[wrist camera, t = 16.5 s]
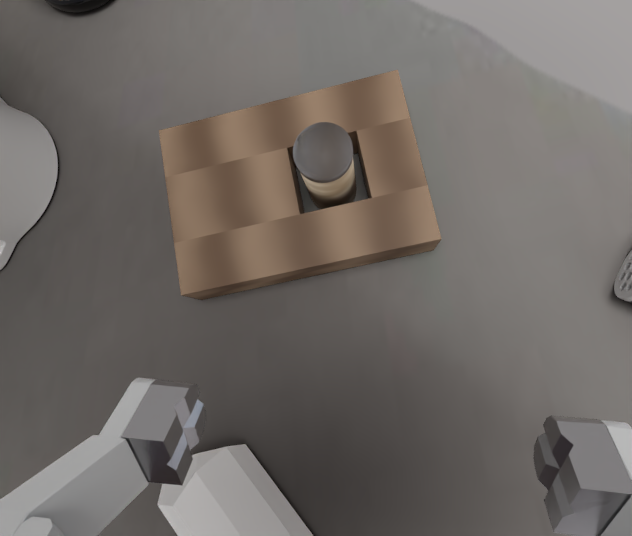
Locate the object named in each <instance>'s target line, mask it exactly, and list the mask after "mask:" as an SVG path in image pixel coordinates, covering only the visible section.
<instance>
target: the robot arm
mask: <svg viewBox="0 0 632 536" xmlns="http://www.w3.org/2000/svg"><path fill="white" fill-rule="evenodd" d="M57 173H58V159H57V153H56V148H55V145H54V142H53V140H52V138H51V136H50V134H49V132H48V131H47V129H46V128H45V127H44V126H43V125H42V124H41V123H40V122H39V121H38V120H37V119H36V118H34V117H33V116H31V115H29V114H27V113H25V112H22V111H20V110H17V109H15V108H13V107H10V106H8V105H7V104H6V103H5V101H4V100H3V99H2V98H1V97H0V270H1V269H2V268H3V267H4V266H5V264H6V263H7V261H8V260H9V258H10V256H11V254H12V252H13V250H14V247H15V245H16V243H17V242H18V241H19V239H20V238H21V237H22V236H23V235H24V234H25V233H26V232H27V231H28V230H29V229H30V228H31V227H32V226H33V225H34V224H35V223H36V222H37V220H38V219H39V218H40V217H41V215H42V214H43V212H44V211H45V209H46V207H47V205H48V204H49V202H50V199H51V197H52V194H53V192H54V188H55V185H56V180H57ZM199 394H200V391H199V388H198V385H197V384H192V383H183V382H175V381H166V380H158V379H148V378H136V379H135V380H134V381H133V382H131V384H130V385H129V387H128V388H127V390H126V392H125V393H124V395H123V397H122V398H121V400H120V401H119V403H118V405H117V406H116V408H115V410H114V411H113V413H112V414H111V416H110V418H109V419H108V421H107V422H106V424H105V426H104V427H103V429H102V431H101V432H100V434H99V435H92V436H91V437H89V438H88V439H86V440H85V441H83V442H82V443H81V444H79V445H78V446H76V447H75V448H73V449H72V450H71V451H69V452H68V453H66V454H65V455H63V456H62V457H61V458H59V459H58V460H56V461H55V462H53V463H52V464H51V465H49V466H48V467H46V468H45V469H43V470H42V471H40V472H39V473H38V474H36V475H35V476H33V477H32V478H30V479H29V480H28V481H26V482H25V483H23V484H22V485H20V486H19V487H18V488H16V489H15V490H13V491H12V492H10V493H9V494H8V495H6V496H5V497H3V498H2V499H0V536H97V535H98V534H99V533H100V532H101V531H102V530H103V529H104V528H105V527H106V526H107V525H108V524H109V523H110V522H111V521H112V520H113V519H114V518H115V517H116V516H117V515H118V514H119V513H120V512H121V511H122V510H123V509H124V508H125V507H126V506H127V505H129V504H130V503H131V502H132V501H133V500H134V499H135V498H136V497H137V496H138V495H139V494H140V493H141V492H142V491H143V490H144V489H145V488H146V487H147V486H148V485H149V483H148V482H151V483H161V484H172V485H183V483H184V480H185V478H186V475H187V473H188V470H189V468H190V465H191V463H192V460H193V458H192V454H191V451H190V450H191V449H192V448H193V447H194V446H195V445H197V444H198V443H199V442H200V440H201V437H202V434H203V432H204V427H205V421H206V410H205V407H204V404H203V403H202V402H201V401H199V400H198V397H199ZM543 426H544V429H545V433H544V434H542V435H541V436H539V437H538V438H537V440H536V443H535V445H534V464H535V470H536V474H537V477H538V480H539V481H540V482H541V483H542V484H543V485H544V486H545V487H546V488H547V490H548V493H547V495H546V497H545V499H544V502H545V505H546V509H547V512H548V516H549V519H550V523H551V526H552V529H553V532H554V533H561V534H567V535H574V536H632V428H631V427H630V426H629V425H628V424H627V423H625V422H617V421H604V420H597V419H588V418H575V417H562V416H549V417H548V418H546V420H545V422H544V424H543Z"/></svg>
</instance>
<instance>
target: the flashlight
mask: <svg viewBox="0 0 632 536" xmlns="http://www.w3.org/2000/svg"><path fill="white" fill-rule="evenodd" d="M614 291H615V294H616V296H617V297H618V298H620V299H623V300H625V301H627V302H629V303H632V250H631V251H630V253H629V254H628V255H627V257H626V258H625V260H624V262H623V264H622V266H621V268H620V271H619V273H618V275H617V277H616V280H615V284H614Z"/></svg>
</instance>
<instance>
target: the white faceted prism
mask: <svg viewBox="0 0 632 536" xmlns="http://www.w3.org/2000/svg"><path fill="white" fill-rule="evenodd" d="M230 452H231V453H230ZM216 454H217V455H216ZM233 456H234V457H233ZM192 458H193V460H192V463H191V465H190V468H189V470H188V473H187V475H186V478H185V480H184V483H183V485H172V484H162V488H161V492H160V496H159V500H158V504H157V505H158V507H159V508H160V510H161V511H162V513H163V514H164V516H165V517H166V519H167V520H168V522H169V523H170V525H171V526H172V528H173V529H174V531H175V532H176V534H177V535H178V536H313V535H312V533H311V532H310V530H309V529H308V528H307V526H306V525H305V524H304V522H303V521H302V520H301V518H300V517H299V516H298V514H297V513H296V512H295V510H294V509H293V508H292V506H291V505H290V503H289V502H288V501H287V499H286V498H285V497H284V495H283V494H282V493H281V491H280V490H279V489H278V487H277V486H276V485H275V483H274V482H273V481H272V479H271V478H270V476H269V475H268V474H267V472H266V471H265V470H264V468H263V467H262V466H261V464H260V463H259V462H258V460H257V459H256V458H255V456H254V455H253V454H252V452H251V451H250V450H249V448H248V447H247V445H246V444H242V445H234V446H226V447H222V448H218V449H214V450H209V451H205V452H201V453H197V454H194V455H192ZM238 463H239V464H238ZM200 467H201V468H200ZM241 467H242V468H241ZM244 471H245V472H244ZM193 474H194V475H193ZM249 478H250V479H249ZM252 482H253V483H252ZM257 489H258V490H257ZM260 493H261V494H260ZM265 500H266V501H265ZM268 504H269V505H268ZM273 511H274V512H273ZM276 515H277V516H276ZM281 522H282V523H281ZM284 526H285V527H284Z"/></svg>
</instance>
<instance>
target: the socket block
mask: <svg viewBox="0 0 632 536" xmlns="http://www.w3.org/2000/svg"><path fill="white" fill-rule="evenodd" d="M319 122H330V123H334V124H336V125H339V126H340V127H342V128H343V129H344V130H345V131H346V132H347V133H348V135H349V136H350V138H351V141H352V145H353V154H355V153H358V155H359V159H360V164H361V168H362V172H363V177H364V181H365V186H366V190H367V194H368V199H365V200H361V201H356V202H352V203H347V204H343V205H339V206H334V207H330V208H325V209H321V210H317V211H312V212H308V213H304V208H303V203H302V198H301V192H300V187H299V182H298V177H297V172H296V167H297V166H296V163H295V161H294V158H293V146H294V143H295V141H296V138H297V137H298V135H299V134H300V133H301V132H302V131H303V130H304V129H305V128H307V127H308V126H310V125H312V124H315V123H319ZM159 135H160V142H161V150H162V157H163V164H164V172H165V179H166V187H167V194H168V201H169V209H170V216H171V223H172V231H173V238H174V246H175V253H176V260H177V268H178V275H179V283H180V290H181V295H183V296H187V297H191V298H195V299H200V300H203V299H208V298H213V297H217V296H222V295H227V294H231V293H236V292H241V291H245V290H250V289H255V288H259V287H264V286H269V285H273V284H278V283H283V282H287V281H292V280H296V279H301V278H306V277H310V276H315V275H320V274H324V273H329V272H334V271H338V270H343V269H348V268H352V267H357V266H362V265H366V264H371V263H376V262H380V261H385V260H390V259H394V258H399V257H404V256H408V255H413V254H418V253H422V252H427V251H432V250H434V249H435V247H436V246H437V244H438V243H439V242H440V240H441V235H440V232H439V228H438V224H437V220H436V216H435V212H434V208H433V204H432V201H431V197H430V193H429V189H428V185H427V181H426V177H425V173H424V170H423V166H422V162H421V158H420V154H419V150H418V146H417V143H416V139H415V135H414V131H413V127H412V123H411V119H410V115H409V112H408V108H407V104H406V100H405V96H404V92H403V88H402V84H401V81H400V77H399V73H398V70H395V71H391V72H387V73H383V74H379V75H375V76H371V77H367V78H364V79H360V80H356V81H352V82H348V83H344V84H340V85H336V86H332V87H328V88H324V89H320V90H316V91H312V92H308V93H305V94H301V95H297V96H293V97H289V98H285V99H281V100H277V101H273V102H269V103H265V104H261V105H257V106H253V107H249V108H246V109H242V110H238V111H234V112H230V113H226V114H222V115H218V116H214V117H210V118H206V119H202V120H198V121H194V122H190V123H187V124H183V125H179V126H175V127H171V128H167V129H163V130H159Z"/></svg>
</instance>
